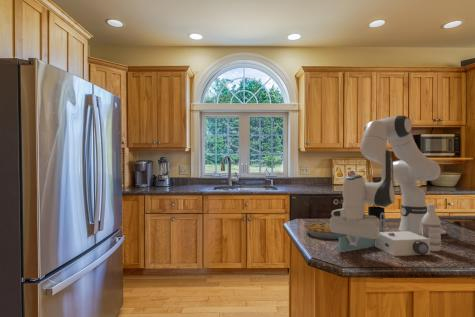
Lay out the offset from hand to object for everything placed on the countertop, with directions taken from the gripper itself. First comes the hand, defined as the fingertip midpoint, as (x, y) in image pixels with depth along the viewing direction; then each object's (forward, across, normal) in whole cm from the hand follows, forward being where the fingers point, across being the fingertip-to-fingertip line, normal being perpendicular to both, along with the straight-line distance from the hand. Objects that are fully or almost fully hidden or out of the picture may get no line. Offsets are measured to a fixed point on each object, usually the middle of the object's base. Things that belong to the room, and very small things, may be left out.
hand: (353, 245), depth 127 cm
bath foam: (+3, -24, -27) cm, 37 cm away
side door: (+3, +1, -6) cm, 7 cm away
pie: (+3, +22, -22) cm, 31 cm away
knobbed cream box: (+3, -16, -16) cm, 23 cm away
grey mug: (+3, -1, -31) cm, 31 cm away
